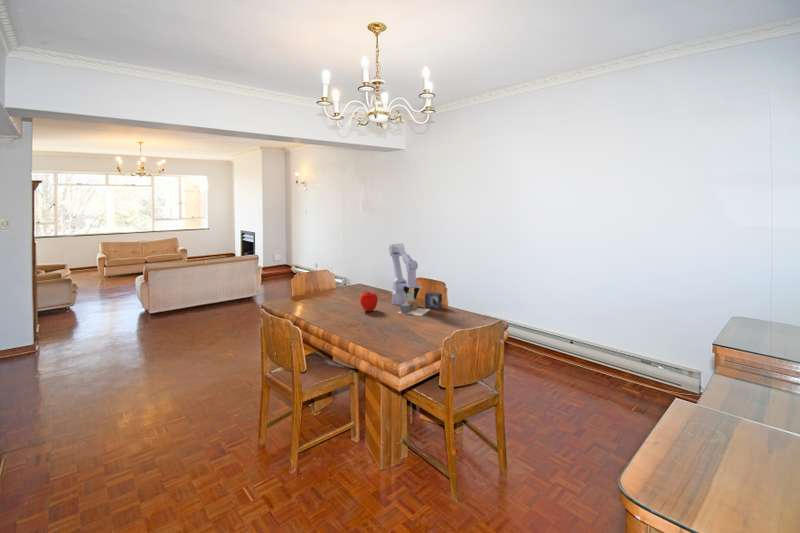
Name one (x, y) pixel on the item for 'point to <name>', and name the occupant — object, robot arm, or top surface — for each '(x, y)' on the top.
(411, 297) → the sage block
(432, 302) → the picture frame
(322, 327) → the top surface
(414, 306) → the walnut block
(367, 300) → the apple
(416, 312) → the grey mat
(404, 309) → the charcoal block
